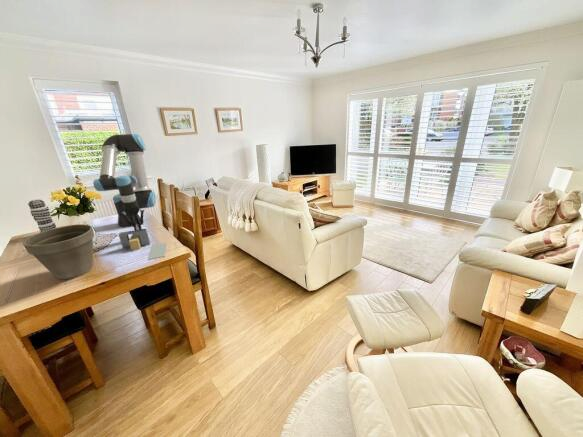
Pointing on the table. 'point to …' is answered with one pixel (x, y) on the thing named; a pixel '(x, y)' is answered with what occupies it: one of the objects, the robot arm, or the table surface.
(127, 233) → the frame
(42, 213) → the decorative candle
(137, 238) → the two-tone upright block
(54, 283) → the table surface
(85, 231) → the plant pot
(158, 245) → the mat
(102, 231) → the table surface
